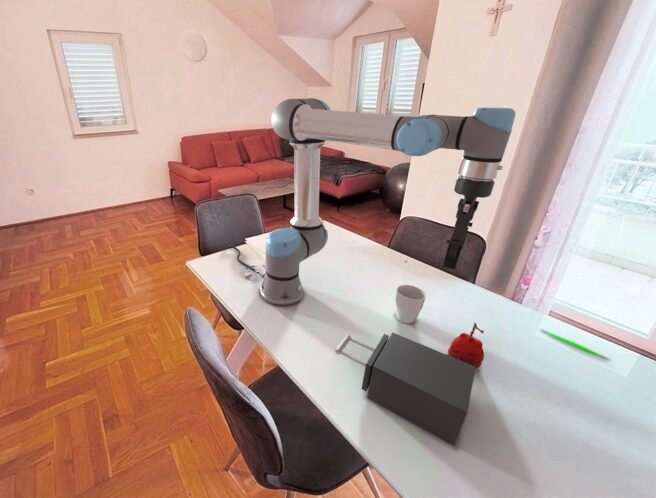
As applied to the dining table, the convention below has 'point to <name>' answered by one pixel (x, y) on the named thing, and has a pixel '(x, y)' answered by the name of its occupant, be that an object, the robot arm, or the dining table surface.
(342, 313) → the dining table surface
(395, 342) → the grey storage cabinet
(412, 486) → the dining table surface
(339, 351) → the drawer
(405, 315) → the cup
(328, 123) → the robot arm
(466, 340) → the red fruit with stem
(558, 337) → the leaf
